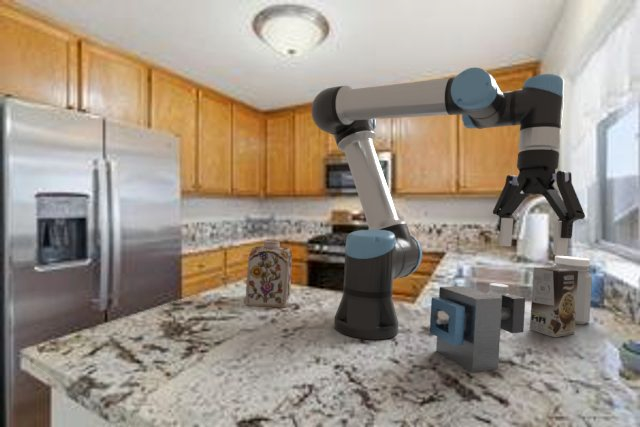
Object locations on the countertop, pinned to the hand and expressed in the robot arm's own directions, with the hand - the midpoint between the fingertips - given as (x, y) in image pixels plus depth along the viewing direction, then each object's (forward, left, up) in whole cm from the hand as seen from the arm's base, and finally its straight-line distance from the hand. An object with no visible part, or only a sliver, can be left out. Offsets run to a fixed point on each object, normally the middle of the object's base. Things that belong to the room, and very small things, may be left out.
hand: (530, 250), depth 75 cm
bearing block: (-13, -11, -22) cm, 27 cm away
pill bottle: (-1, +21, -22) cm, 30 cm away
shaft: (-11, -9, -17) cm, 22 cm away
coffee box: (+11, +17, -22) cm, 30 cm away
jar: (+20, +32, -22) cm, 44 cm away
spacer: (-17, -14, -17) cm, 28 cm away
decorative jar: (-65, +11, -22) cm, 69 cm away
